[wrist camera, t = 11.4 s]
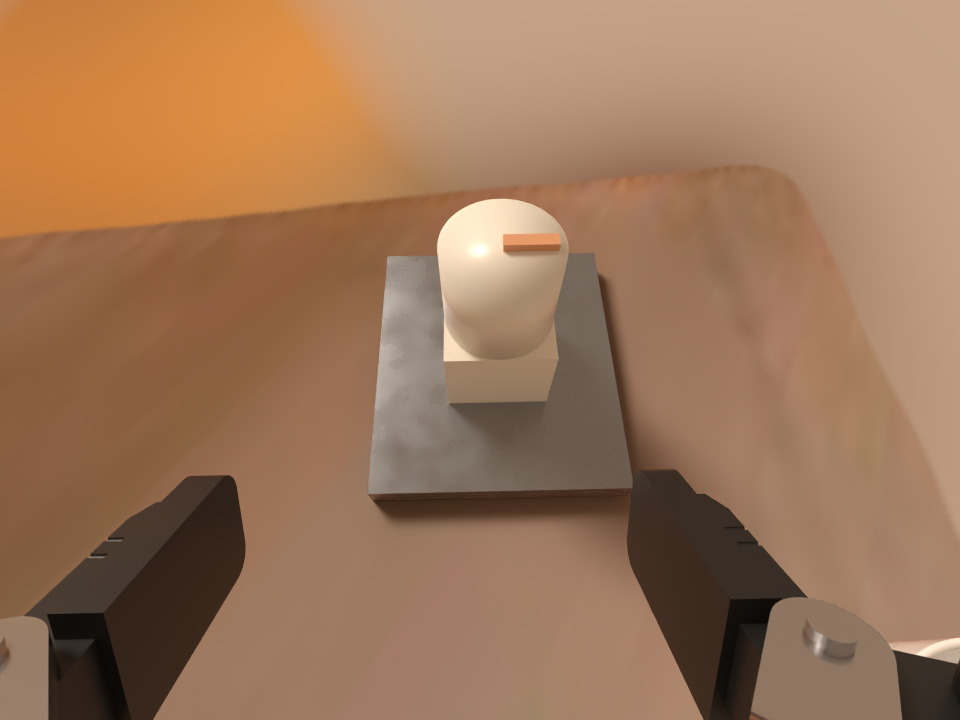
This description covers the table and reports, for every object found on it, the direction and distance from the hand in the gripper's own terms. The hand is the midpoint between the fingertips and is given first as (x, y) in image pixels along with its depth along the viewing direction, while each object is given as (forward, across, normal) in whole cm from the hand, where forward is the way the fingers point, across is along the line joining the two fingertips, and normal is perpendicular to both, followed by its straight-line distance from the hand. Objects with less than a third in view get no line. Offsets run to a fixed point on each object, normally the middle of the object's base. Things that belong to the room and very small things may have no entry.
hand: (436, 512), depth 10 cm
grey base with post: (+21, -3, +4) cm, 22 cm away
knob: (+20, -3, +3) cm, 20 cm away
